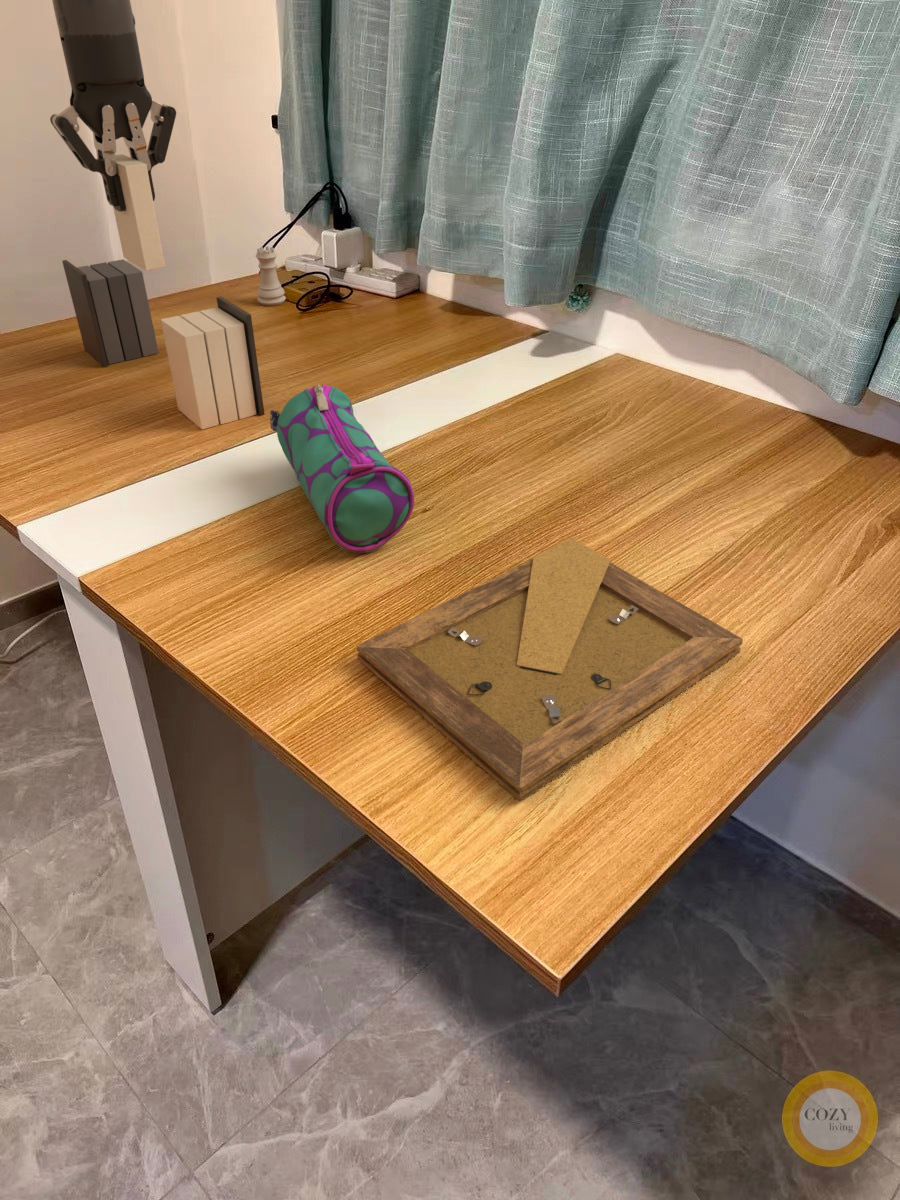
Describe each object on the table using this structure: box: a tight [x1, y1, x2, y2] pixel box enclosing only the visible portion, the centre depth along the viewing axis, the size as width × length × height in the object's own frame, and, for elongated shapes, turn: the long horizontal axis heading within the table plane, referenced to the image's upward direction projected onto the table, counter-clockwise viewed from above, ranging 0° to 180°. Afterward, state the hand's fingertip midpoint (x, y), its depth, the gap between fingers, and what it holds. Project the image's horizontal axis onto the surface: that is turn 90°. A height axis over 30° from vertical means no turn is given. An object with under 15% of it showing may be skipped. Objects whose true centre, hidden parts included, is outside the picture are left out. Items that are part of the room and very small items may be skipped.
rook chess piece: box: [255, 246, 287, 307], centre depth 137 cm, size 4×4×8 cm
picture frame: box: [356, 537, 744, 802], centre depth 69 cm, size 19×2×24 cm
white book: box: [112, 153, 166, 272], centre depth 102 cm, size 2×7×11 cm, turn 37°
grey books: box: [61, 258, 160, 368], centre depth 119 cm, size 8×8×12 cm
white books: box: [160, 296, 265, 431], centre depth 103 cm, size 8×8×12 cm
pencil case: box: [269, 384, 415, 554], centre depth 86 cm, size 21×9×10 cm, turn 22°
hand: (132, 207), depth 101 cm, fingers closed on white book, 2 cm apart
